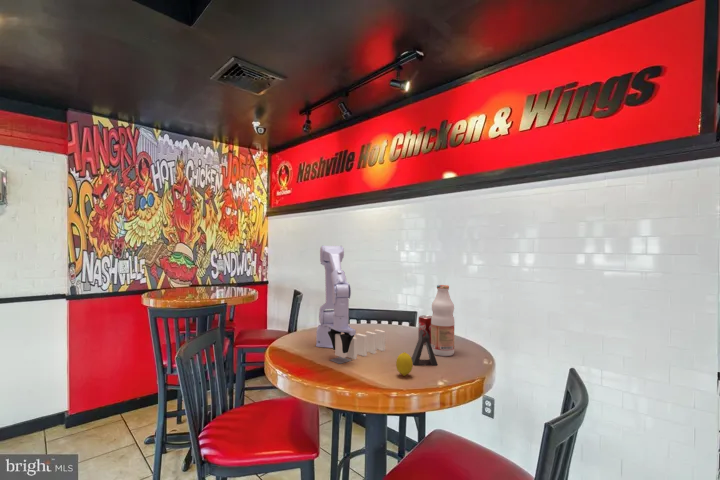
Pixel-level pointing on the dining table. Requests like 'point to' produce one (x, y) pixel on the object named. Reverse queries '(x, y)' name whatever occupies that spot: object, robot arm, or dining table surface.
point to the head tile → (380, 340)
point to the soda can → (424, 325)
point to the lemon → (404, 363)
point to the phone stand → (418, 351)
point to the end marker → (340, 360)
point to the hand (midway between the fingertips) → (340, 350)
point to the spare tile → (339, 346)
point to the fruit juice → (442, 323)
